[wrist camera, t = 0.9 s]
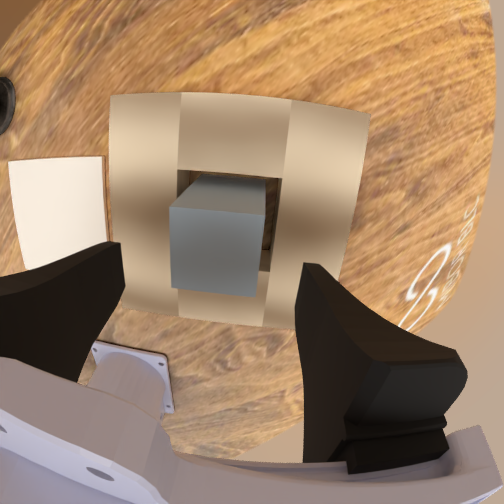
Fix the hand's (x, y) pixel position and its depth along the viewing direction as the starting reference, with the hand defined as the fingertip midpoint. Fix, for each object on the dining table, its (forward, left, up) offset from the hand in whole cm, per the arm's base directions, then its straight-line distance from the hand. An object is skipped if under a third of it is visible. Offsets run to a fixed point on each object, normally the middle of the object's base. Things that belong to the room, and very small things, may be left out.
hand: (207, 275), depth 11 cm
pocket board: (0, 0, -9) cm, 9 cm away
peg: (0, 0, -9) cm, 9 cm away
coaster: (-2, +14, -9) cm, 17 cm away
